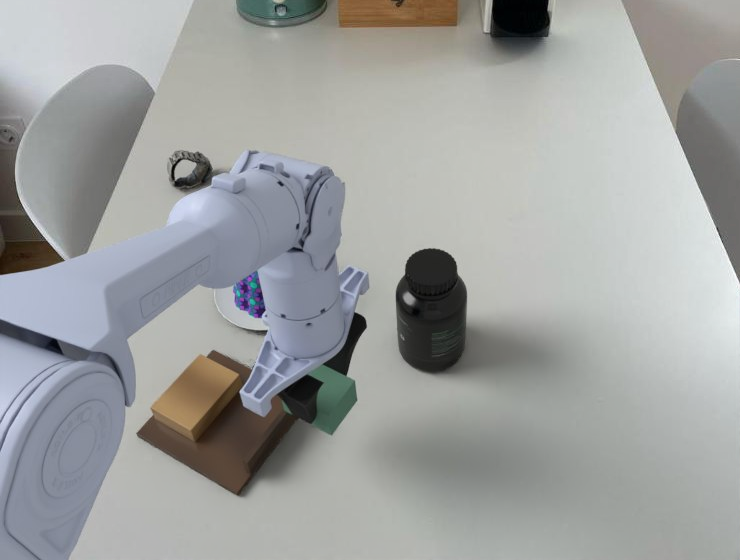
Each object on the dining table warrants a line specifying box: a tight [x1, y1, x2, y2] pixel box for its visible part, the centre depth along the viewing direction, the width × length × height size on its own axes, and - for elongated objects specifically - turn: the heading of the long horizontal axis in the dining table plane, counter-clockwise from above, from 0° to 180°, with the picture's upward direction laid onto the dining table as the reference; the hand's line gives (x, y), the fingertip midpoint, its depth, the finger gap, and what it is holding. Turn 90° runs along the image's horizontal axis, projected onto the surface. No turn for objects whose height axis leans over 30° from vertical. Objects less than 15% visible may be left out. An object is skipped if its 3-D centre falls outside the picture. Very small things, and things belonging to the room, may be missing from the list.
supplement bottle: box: [395, 247, 468, 373], centre depth 78 cm, size 7×7×12 cm
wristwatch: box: [166, 149, 214, 190], centre depth 101 cm, size 3×5×5 cm
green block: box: [282, 364, 358, 436], centre depth 69 cm, size 4×5×3 cm
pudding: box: [213, 271, 269, 331], centre depth 87 cm, size 12×12×5 cm
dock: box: [135, 349, 299, 497], centre depth 76 cm, size 11×12×3 cm
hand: (319, 395), depth 69 cm, fingers closed on green block, 4 cm apart
